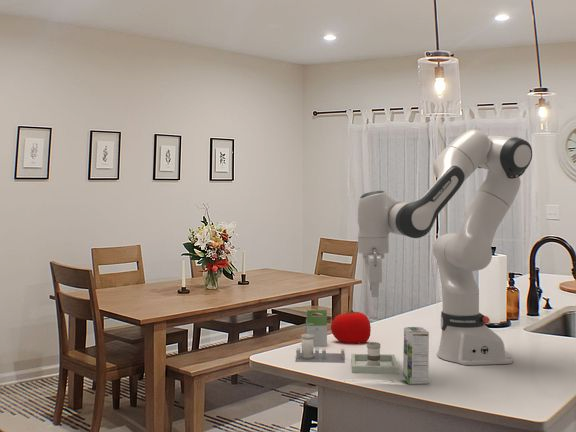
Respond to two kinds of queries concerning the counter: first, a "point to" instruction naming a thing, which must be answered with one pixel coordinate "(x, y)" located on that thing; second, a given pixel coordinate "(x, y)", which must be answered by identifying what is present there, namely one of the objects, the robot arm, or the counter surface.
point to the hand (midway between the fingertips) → (374, 294)
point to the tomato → (351, 327)
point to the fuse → (373, 354)
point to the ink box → (317, 327)
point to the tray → (374, 369)
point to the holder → (316, 352)
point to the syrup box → (416, 355)
